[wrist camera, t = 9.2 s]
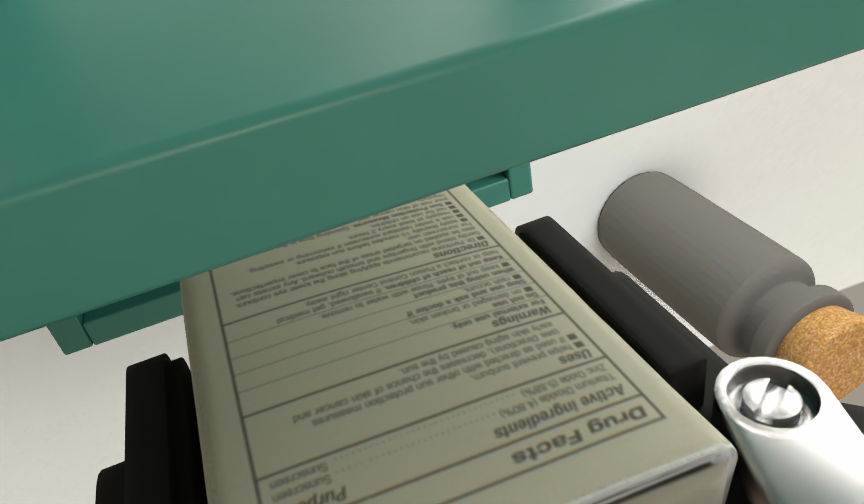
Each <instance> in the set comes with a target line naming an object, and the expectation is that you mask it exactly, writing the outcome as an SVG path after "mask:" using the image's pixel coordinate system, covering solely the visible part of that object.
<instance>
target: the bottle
mask: <svg viewBox="0 0 864 504" xmlns="http://www.w3.org/2000/svg"><path fill="white" fill-rule="evenodd" d="M598 234H599V239H600V241H601V244H602V245H603V247H604V248H605V249H606V250H607V251H608V252H609V253H610V254H611V255H612V256H613V257H614V258H615V259H616V260H617V261H618V262H619V263H620V264H622V265H623V266H624V267H625V268H626V269H627V270H628V271H629V272H631V273H632V274H633V275H634V276H635V277H636V278H637V279H639V280H640V281H641V282H642V283H643V284H644V285H645V286H647V287H648V288H649V289H650V290H651V291H652V292H653V293H655V294H656V295H657V296H658V297H659V298H660V299H662V300H663V301H664V302H665V303H666V304H667V305H668V306H670V307H671V308H672V309H673V310H674V311H675V312H677V313H678V314H679V315H680V316H681V317H682V318H683V319H685V320H686V321H687V322H688V323H689V324H690V325H691V326H693V327H694V328H695V329H696V330H697V331H698V332H700V333H701V334H702V335H703V336H704V337H706V338H707V339H708V340H709V341H710V342H712V343H713V344H714V345H715V346H716V347H718V348H719V349H720V350H721V351H723V352H725V353H726V354H728V355H730V356H733V357H772V358H778V359H784V360H787V361H790V362H793V363H795V364H798V365H801V366H803V367H804V368H806V369H808V370H809V371H811V372H813V373H814V374H816V375H817V376H818V377H819V378H820V379H821V380H822V381H823V382H824V383H825V384H826V385H827V386H828V387H829V389H830V390H831V392H832V393H833V394H834V396H835V397H836V398H837V400H840V399H841V398H843V397H845V396H846V395H848V394H849V393H850V392H851V391H853V390H854V389H855V388H856V387H858V386H859V385H860V384H861V383H862V382H863V381H864V316H862V315H859V314H857V313H855V312H854V308H853V305H852V303H851V301H850V300H849V299H848V298H847V297H846V296H845V295H843V294H842V293H840V292H839V291H837V290H835V289H834V288H832V287H829V286H826V285H815V277H814V274H813V271H812V269H811V267H810V266H809V265H808V264H807V263H806V262H805V261H804V260H803V259H801V258H800V257H798V256H797V255H795V254H793V253H792V252H790V251H789V250H787V249H786V248H784V247H782V246H781V245H779V244H778V243H776V242H775V241H773V240H771V239H770V238H768V237H767V236H765V235H764V234H762V233H761V232H759V231H757V230H756V229H754V228H753V227H751V226H749V225H748V224H746V223H745V222H743V221H741V220H740V219H738V218H737V217H735V216H733V215H732V214H730V213H729V212H727V211H725V210H724V209H722V208H721V207H719V206H717V205H716V204H714V203H712V202H711V201H709V200H708V199H706V198H704V197H703V196H701V195H700V194H698V193H696V192H695V191H693V190H692V189H690V188H688V187H687V186H685V185H683V184H682V183H680V182H678V181H677V180H675V179H673V178H672V177H670V176H668V175H666V174H663V173H659V172H646V173H642V174H639V175H637V176H635V177H632V178H630V179H629V180H627V181H626V182H624V183H623V184H622V185H621V186H620V187H619V188H617V189H616V190H615V191H614V193H613V194H612V195H611V197H610V198H609V199H608V201H607V202H606V204H605V206H604V208H603V210H602V213H601V215H600V219H599V224H598Z"/></svg>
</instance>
